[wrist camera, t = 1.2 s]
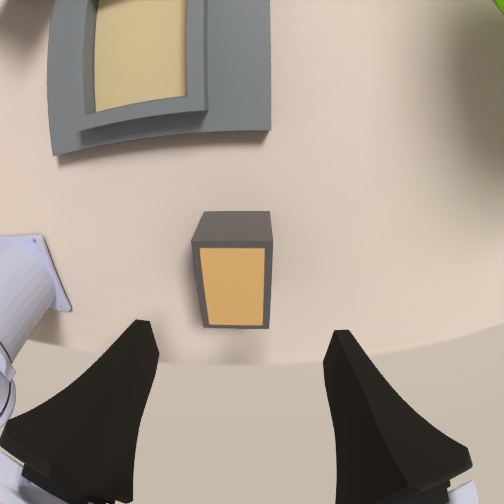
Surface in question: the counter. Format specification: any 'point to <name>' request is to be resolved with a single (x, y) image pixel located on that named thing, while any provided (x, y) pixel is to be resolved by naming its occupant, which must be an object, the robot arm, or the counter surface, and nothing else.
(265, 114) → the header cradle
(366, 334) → the counter surface
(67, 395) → the robot arm
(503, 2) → the wineglass
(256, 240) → the plug housing
